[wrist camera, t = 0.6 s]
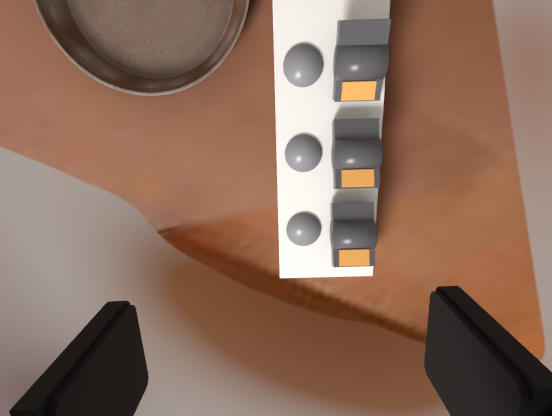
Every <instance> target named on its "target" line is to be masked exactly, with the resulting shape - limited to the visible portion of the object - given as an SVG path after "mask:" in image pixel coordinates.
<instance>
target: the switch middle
mask: <svg viewBox="0 0 552 416" xmlns="http://www.w3.org/2000/svg"><path fill="white" fill-rule="evenodd" d="M382 157H383V148H382V142H381V140H380V138H379V118H363V119H334V120H333V122H332V148H331V162H332V169H333V189H363V188H380V166H381V163H382Z"/></svg>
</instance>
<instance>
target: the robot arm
mask: <svg viewBox="0 0 552 416" xmlns="http://www.w3.org/2000/svg"><path fill="white" fill-rule="evenodd" d="M424 365H425V371H426V374H427V376H428V378H429V379H430V381H431V383H432V385H433V386H434V388H435V390H436V391H437V393H438V395H439V396H440V398H441V400H442V402H443V403H444V405H445V407H446V408H447V410H448V412H449V414H450V415H451V416H552V372H551V371H550V370H549V369H548V368H546V367H545V366H544V365H543V364H542V363H541V362H540V361H539V360H538V359H537V358H536V357H535V356H533V355H532V354H531V353H530V352H529V351H528V350H527V349H526V348H525V347H524V346H523V345H522V344H520V343H519V342H518V341H517V340H516V339H515V338H514V337H513V336H512V335H511V334H510V333H509V332H508V331H506V330H505V329H504V328H503V327H502V326H501V325H500V324H499V323H498V322H497V321H496V320H495V319H493V318H492V317H491V316H490V315H489V314H488V313H487V312H486V311H485V310H484V309H483V308H482V307H481V306H479V305H478V304H477V303H476V302H475V301H474V300H473V299H472V298H471V297H470V296H469V295H468V294H466V293H465V292H464V291H463V290H462V289H461V288H460V287H458V286H442V287H437V288H436V291H435V292H432V293H431V295H430V304H429V316H428V327H427V338H426V349H425V361H424ZM147 384H148V371H147V366H146V360H145V355H144V350H143V344H142V339H141V334H140V328H139V323H138V318H137V312H136V308H135V306H134V305H130V303H129V302H128V301H112V302H107V303H106V304H105V305H104V306H103V307H102V309H101V310H100V311H99V312H98V313H97V314H96V315H95V316H94V318H93V319H92V320H91V321H90V322H89V323H88V324H87V325H86V326H85V327H84V329H83V330H82V331H81V332H80V333H79V334H78V335H77V336H76V338H75V339H74V340H73V341H72V342H71V343H70V344H69V345H68V346H67V348H66V349H65V350H64V351H63V352H62V353H61V354H60V355H59V357H57V359H56V360H55V361H54V362H53V363H52V364H51V365H50V366H49V368H48V369H47V370H46V371H45V372H44V373H43V374H42V375H41V376H40V377H39V379H38V380H37V381H36V382H35V383H34V384H33V385H32V386H31V387H30V388H29V390H28V391H27V392H26V393H25V394H24V395H23V396H22V397H21V399H20V400H19V401H18V402H17V403H16V404H15V405H14V406H13V407H12V409H11V410H10V411H9V412H10V415H11V416H133V415H134V413H135V411H136V409H137V407H138V404H139V402H140V400H141V398H142V396H143V394H144V392H145V390H146V387H147Z"/></svg>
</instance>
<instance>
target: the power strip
mask: <svg viewBox="0 0 552 416" xmlns="http://www.w3.org/2000/svg"><path fill="white" fill-rule="evenodd" d="M389 13H390V0H273V33H274V71H275V109H276V147H277V185H278V223H279V262H280V278H304V277H345V276H373V266H360V267H333V266H332V257H331V244H330V221H331V210H330V203H341V202H374V221H375V224H376V214H377V199H378V188H363V189H333V169H332V162H331V148H332V122H333V120H334V119H363V118H379V138H380V140H381V137H382V121H383V106H384V90H385V77H384V79H383V83H382V90H381V97H380V101H349V102H334V100H333V85H334V75H333V58H334V50H335V46H336V38H337V22H338V20H356V19H389Z"/></svg>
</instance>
